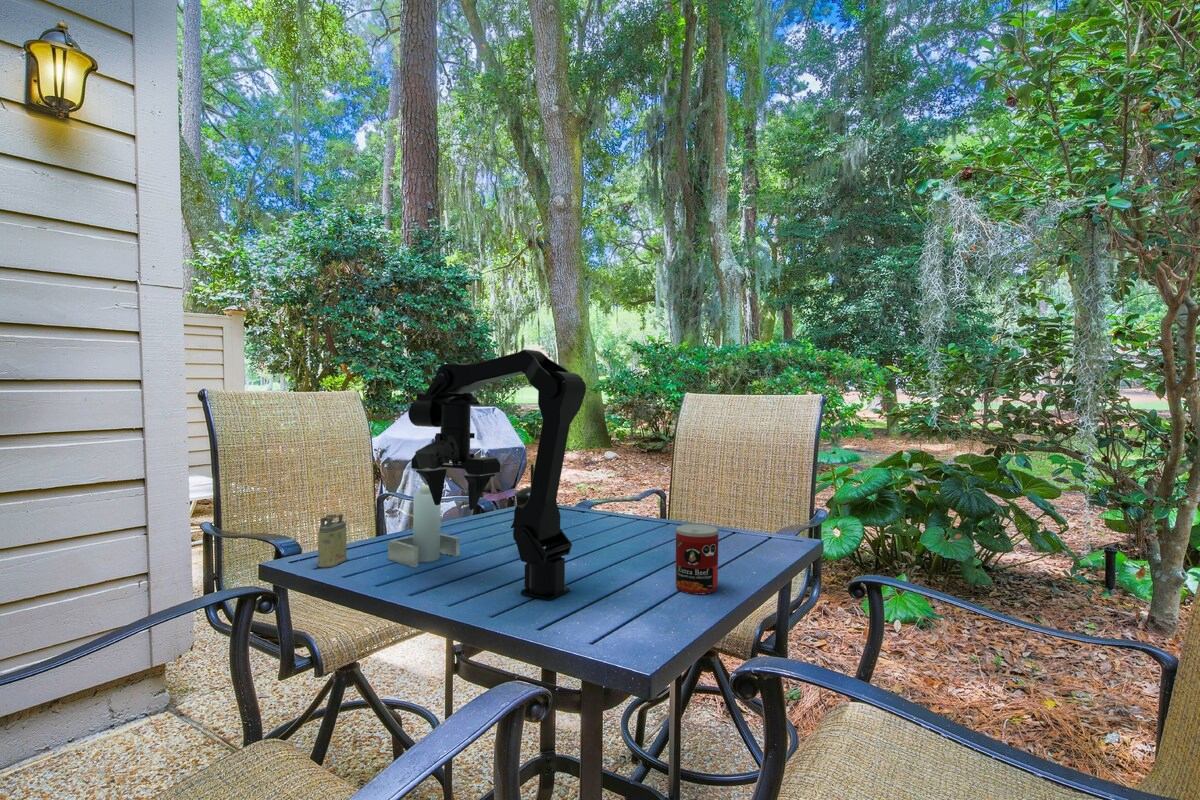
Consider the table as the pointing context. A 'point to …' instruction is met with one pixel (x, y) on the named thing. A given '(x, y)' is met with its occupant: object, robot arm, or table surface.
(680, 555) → the canned food
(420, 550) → the bottle
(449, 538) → the hook bracket
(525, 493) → the drinking cup
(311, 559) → the table surface
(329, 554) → the lighter
